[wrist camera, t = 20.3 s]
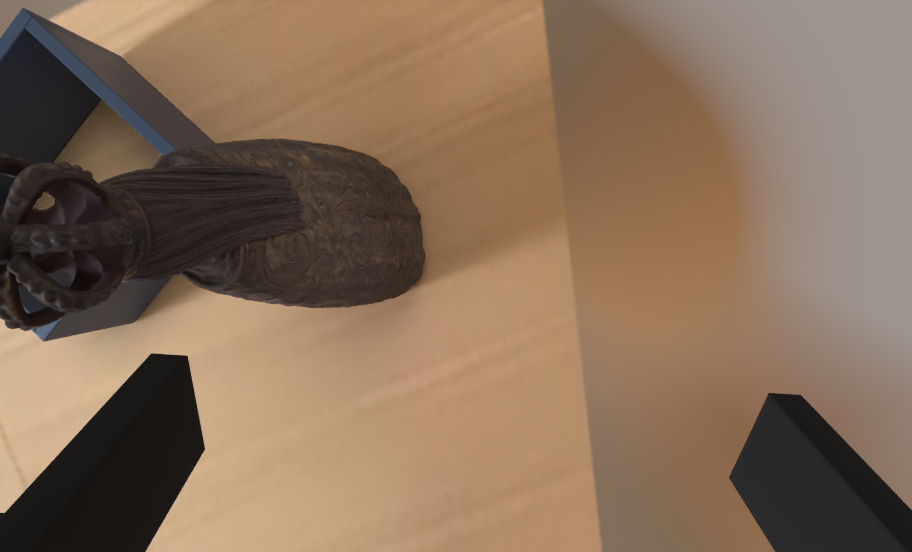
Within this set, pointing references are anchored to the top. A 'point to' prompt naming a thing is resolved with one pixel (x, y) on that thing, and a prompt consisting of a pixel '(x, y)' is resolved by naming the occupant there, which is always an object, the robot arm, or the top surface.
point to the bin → (59, 116)
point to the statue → (212, 228)
